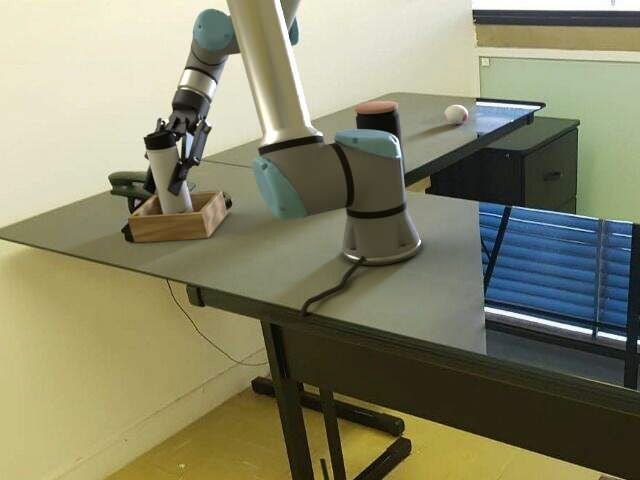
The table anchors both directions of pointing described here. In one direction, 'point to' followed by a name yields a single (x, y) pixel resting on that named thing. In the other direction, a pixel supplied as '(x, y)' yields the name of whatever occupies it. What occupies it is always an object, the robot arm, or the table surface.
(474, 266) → the table surface
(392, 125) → the coffee jar
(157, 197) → the crate
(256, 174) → the robot arm
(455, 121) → the stress ball
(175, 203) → the travel mug
